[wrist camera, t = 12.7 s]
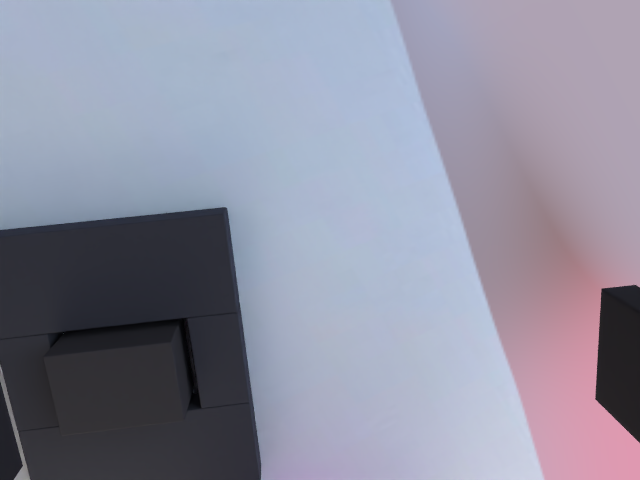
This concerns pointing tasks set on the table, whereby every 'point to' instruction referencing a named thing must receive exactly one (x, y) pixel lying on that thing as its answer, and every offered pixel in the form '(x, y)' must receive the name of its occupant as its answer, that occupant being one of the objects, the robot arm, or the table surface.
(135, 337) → the black pad
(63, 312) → the charcoal pad
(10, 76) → the table surface
